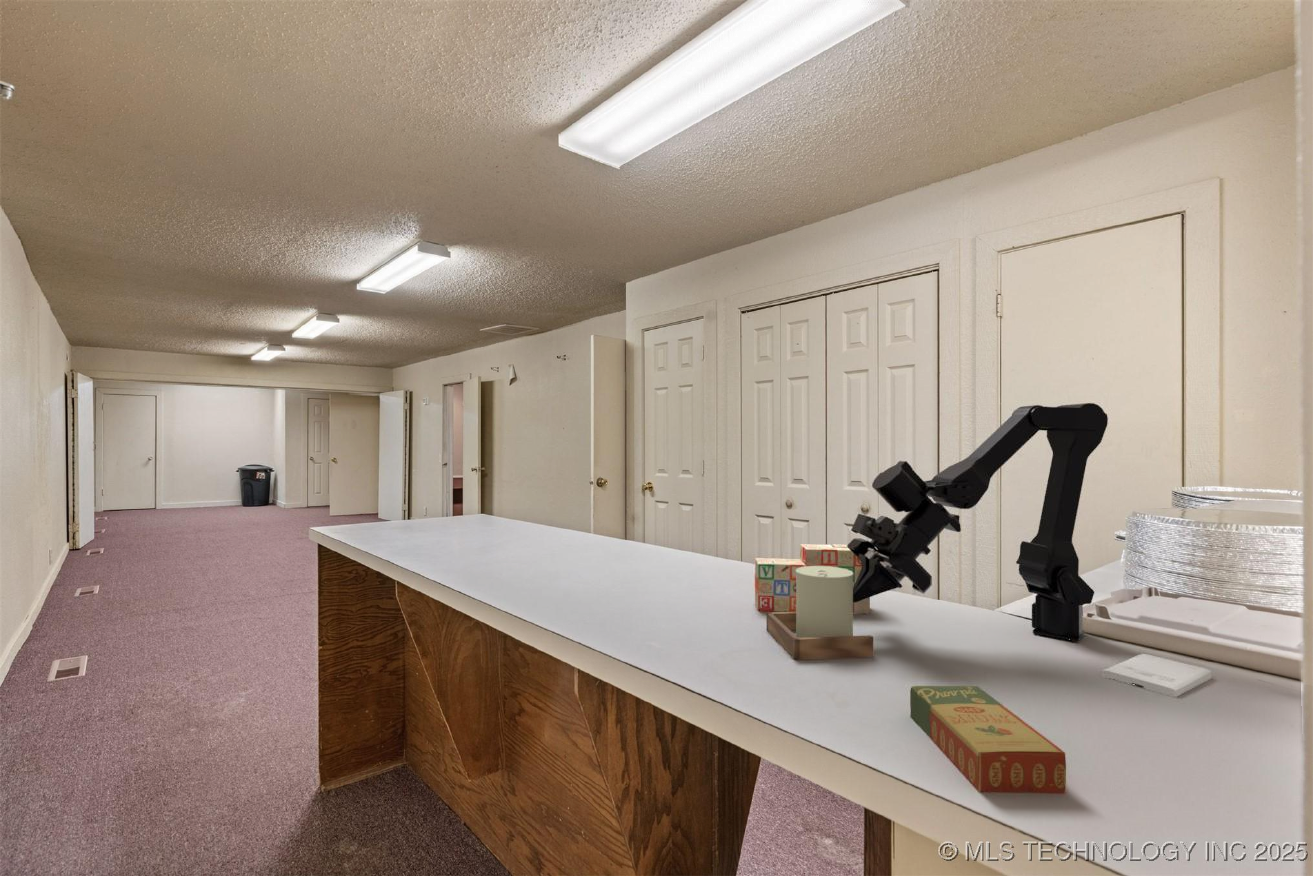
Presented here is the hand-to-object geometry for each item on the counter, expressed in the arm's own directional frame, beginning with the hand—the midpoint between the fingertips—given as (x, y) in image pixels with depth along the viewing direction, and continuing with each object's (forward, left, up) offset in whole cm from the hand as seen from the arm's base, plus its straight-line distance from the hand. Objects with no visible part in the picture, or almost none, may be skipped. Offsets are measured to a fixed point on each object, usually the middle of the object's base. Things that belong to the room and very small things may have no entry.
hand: (851, 600), depth 99 cm
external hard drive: (-37, -15, -7) cm, 41 cm away
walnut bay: (+3, +4, -7) cm, 9 cm away
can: (+3, +4, -7) cm, 8 cm away
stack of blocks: (+15, -13, -7) cm, 22 cm away
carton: (-26, +24, -7) cm, 36 cm away
